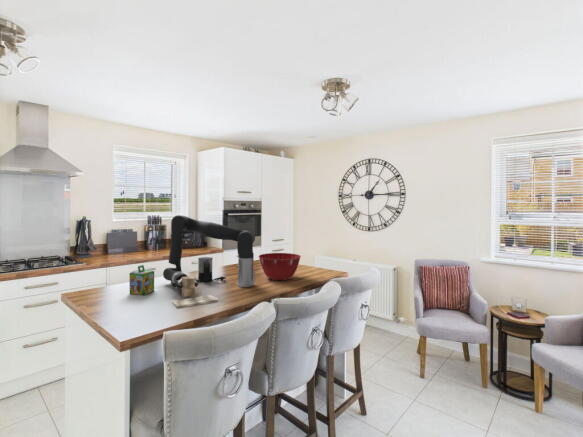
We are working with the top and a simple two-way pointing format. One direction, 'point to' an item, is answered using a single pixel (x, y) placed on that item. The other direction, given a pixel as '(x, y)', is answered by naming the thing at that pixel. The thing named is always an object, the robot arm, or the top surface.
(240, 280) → the robot arm
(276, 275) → the mixing bowl
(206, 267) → the milk frother
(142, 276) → the green patterned box
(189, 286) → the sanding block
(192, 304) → the board
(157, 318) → the top surface
